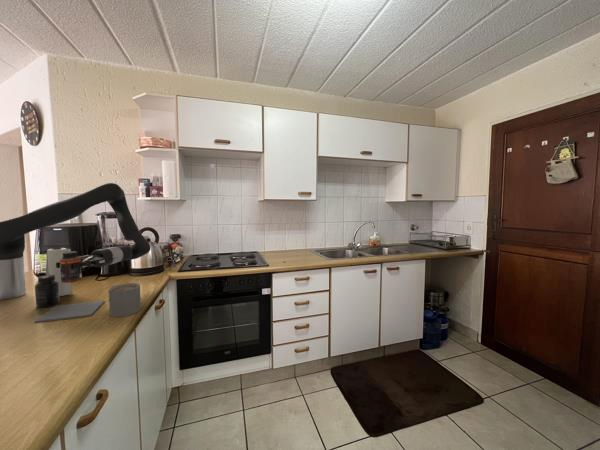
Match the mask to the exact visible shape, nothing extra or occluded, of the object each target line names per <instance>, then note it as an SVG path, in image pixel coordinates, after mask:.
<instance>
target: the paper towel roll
mask: <svg viewBox="0 0 600 450" xmlns="http://www.w3.org/2000/svg"><path fill="white" fill-rule="evenodd" d="M71 250H72V249H71V248H65V247H55V248H49V249H47V251H46V253H47V268H48V269H47V270H48V272H47V273H48V275H55V280H54V281H57V282H58V283H59V297H62V296H66V295H73V294H74V292H73V291H74V287H73V286H74V285H73V282H71V283H63V282H61V272H60V268H56V262H60V259H62V258H63V253H64V252H70V251H71Z"/></svg>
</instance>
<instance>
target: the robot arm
mask: <svg viewBox="0 0 600 450" xmlns="http://www.w3.org/2000/svg"><path fill="white" fill-rule="evenodd" d="M106 202H107V203H108V205H110V207H111V208H112V210H113V212H114V214H115V217H116V220H117V224H118V227H119V229H120V231H121V233H122V235H123V238H124V240H125V241H127V242H132V241H133V242H134V244H132V245H120V246H119V245H118V246H113V247H111V246H110V247H105V248H101V249H100V248H99V249H95V250H93V251H92V252H91V253H90V254H86V255H82V256H81V255H77V256H78V257H80V258H81V261H79V262H75V263H70V264H69V269H76V268H80V267H81V268H86V267H87V268H93V267H95V268H103V267H106V266H111V265H115V264H117V263H119V262H123V261H127V260H128V261H129V260H137V259H139V258H141V257H143V256H145V255H147V254H149V252H150V251H151V245H150V243H149V241H148V240H147V239H146V238H145V237H144V235H142V233H141V232H140V230H139V227H138V225H137V224H136V222H135V220H134V218H133V215H132V213H131V211H130V208H129V205H128V203H127V199H126V194H125V190H124V189H122V188H121V186H120V185H119V184H116V183H115V182H114V183H113V182H105V183H103V184H100V185H98V186H96V187H94V188H92V189H90V190H87V191H86V192H82V193H79V194H77V195H74V196H71V197H68V198H65V199H62V200H58V201H56V202H53V203H50V204H47V205H45V206H42V207H40V208H38V209H36V210H33V211H31V212H28V213H26V214H23V215H21V216H18V217H15V218H14V217H13V218H11V219H7V220H3V221H0V301H1V300H9V299H14V298H20V297H22V296H24V295H26V294H27V287H26V274H25V273H26V272H25V258H24V253H25V248H26V234H28V233H32V232H34V231H36V230H40V229H44V228H47V227H48V228H49V227H51V226H55V225H58V224H59V225H60V224H62V223H65V222H67V221H70V220H72V219H74V218H78V217H79V216H80V215H82V214H83V213H85V212H86V211H87V210H88V209H90V208H92V207H94V206H97V205H100V204H101V203H106ZM56 268H60V262H56Z"/></svg>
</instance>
